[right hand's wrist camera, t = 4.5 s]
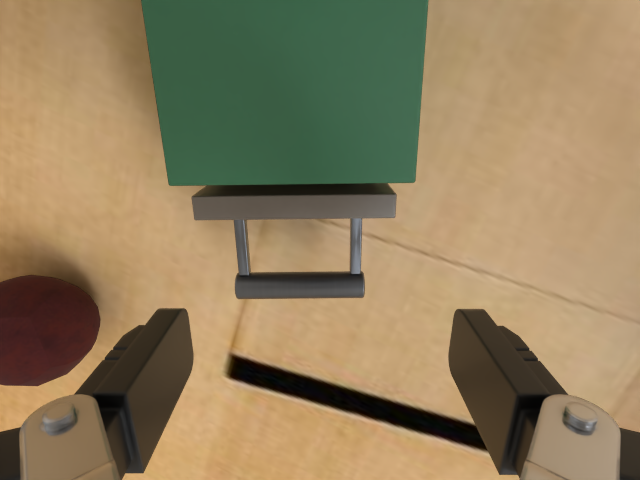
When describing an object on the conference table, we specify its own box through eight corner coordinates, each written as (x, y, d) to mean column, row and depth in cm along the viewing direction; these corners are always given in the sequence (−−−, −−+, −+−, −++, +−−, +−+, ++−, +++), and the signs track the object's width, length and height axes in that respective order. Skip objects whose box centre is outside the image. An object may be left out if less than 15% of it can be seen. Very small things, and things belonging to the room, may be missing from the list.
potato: (-4, 267, 28) (-106, 320, 21) (97, 250, 27) (26, 298, 21) (39, 351, 30) (-41, 422, 24) (133, 337, 30) (78, 404, 23)
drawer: (373, 266, 27) (389, 319, 20) (234, 267, 27) (207, 320, 20) (388, -136, 19) (422, -255, 13) (195, -132, 19) (132, -248, 13)
